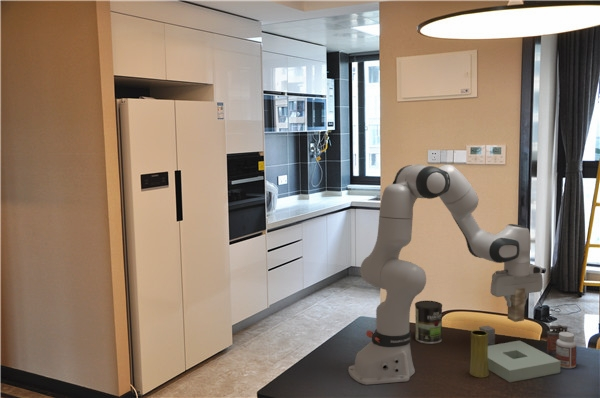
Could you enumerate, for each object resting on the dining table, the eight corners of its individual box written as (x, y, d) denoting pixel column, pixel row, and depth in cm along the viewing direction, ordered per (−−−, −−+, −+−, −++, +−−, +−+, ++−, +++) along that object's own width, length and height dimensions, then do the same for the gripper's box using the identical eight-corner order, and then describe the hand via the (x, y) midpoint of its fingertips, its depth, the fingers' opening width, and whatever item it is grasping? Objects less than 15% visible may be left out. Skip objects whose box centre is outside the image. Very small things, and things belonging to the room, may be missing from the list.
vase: (465, 372, 189) (465, 331, 187) (480, 368, 191) (480, 328, 190) (478, 379, 183) (478, 337, 182) (492, 375, 186) (493, 333, 184)
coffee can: (447, 341, 217) (447, 305, 215) (425, 345, 213) (425, 309, 212) (431, 332, 227) (431, 298, 225) (410, 337, 223) (409, 302, 221)
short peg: (485, 345, 211) (485, 330, 211) (479, 342, 215) (479, 327, 214) (494, 344, 213) (494, 328, 212) (488, 340, 216) (488, 325, 216)
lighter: (568, 350, 204) (569, 323, 203) (572, 354, 201) (572, 327, 200) (545, 350, 205) (545, 323, 204) (548, 353, 202) (549, 327, 201)
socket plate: (509, 382, 180) (509, 370, 180) (472, 359, 199) (472, 348, 199) (560, 372, 186) (560, 361, 186) (519, 351, 205) (519, 340, 205)
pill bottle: (570, 361, 195) (571, 330, 194) (579, 368, 189) (580, 336, 188) (552, 362, 195) (553, 331, 194) (561, 369, 189) (562, 337, 187)
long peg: (514, 321, 203) (515, 289, 202) (507, 318, 207) (508, 286, 206) (523, 320, 205) (525, 288, 203) (516, 317, 208) (517, 285, 207)
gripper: (498, 273, 197) (497, 311, 199) (546, 267, 204) (545, 305, 205) (487, 269, 203) (486, 306, 205) (533, 264, 210) (533, 300, 211)
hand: (516, 305), depth 205 cm, fingers closed on long peg, 4 cm apart
